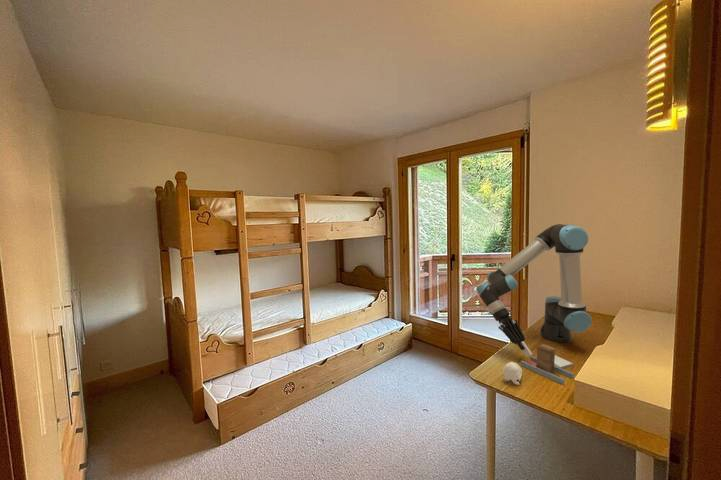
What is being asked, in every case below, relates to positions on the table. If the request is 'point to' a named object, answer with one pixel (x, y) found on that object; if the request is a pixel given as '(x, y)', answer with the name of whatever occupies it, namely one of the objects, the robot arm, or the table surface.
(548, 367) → the walnut block
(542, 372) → the channel
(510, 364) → the white figurine
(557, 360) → the external hard drive
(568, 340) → the robot arm
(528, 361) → the pad
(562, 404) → the table surface
